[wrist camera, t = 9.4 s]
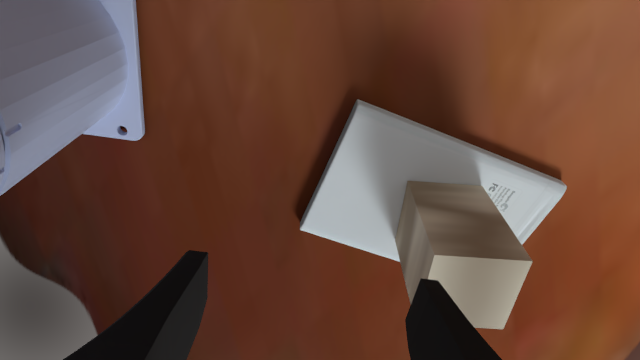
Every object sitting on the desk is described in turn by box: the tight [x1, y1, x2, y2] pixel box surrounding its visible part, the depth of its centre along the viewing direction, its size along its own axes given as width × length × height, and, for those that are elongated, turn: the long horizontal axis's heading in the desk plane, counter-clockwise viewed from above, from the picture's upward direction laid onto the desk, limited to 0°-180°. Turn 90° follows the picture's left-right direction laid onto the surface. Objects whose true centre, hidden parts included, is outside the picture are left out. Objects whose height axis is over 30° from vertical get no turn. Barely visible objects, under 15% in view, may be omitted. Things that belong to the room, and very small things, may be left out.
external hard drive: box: [300, 99, 567, 262], centre depth 23 cm, size 2×8×12 cm
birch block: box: [395, 181, 533, 329], centre depth 20 cm, size 4×4×6 cm
